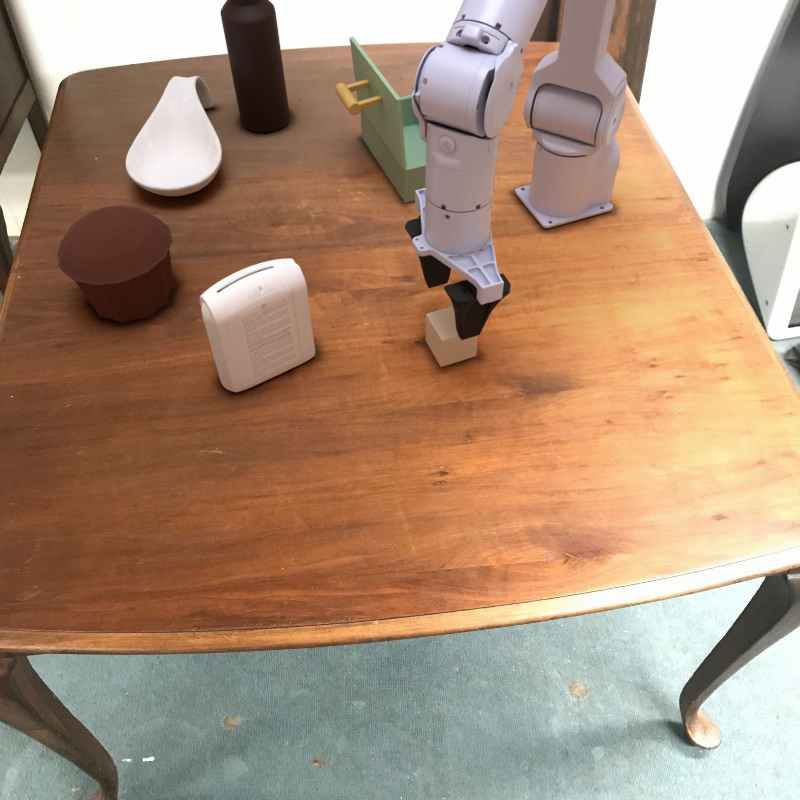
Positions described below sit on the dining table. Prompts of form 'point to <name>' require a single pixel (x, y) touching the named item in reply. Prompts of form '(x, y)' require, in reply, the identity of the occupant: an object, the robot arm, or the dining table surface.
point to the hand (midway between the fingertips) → (452, 308)
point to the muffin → (119, 261)
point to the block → (447, 338)
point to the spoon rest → (177, 142)
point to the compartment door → (374, 101)
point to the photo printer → (258, 323)
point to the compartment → (414, 151)
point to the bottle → (256, 63)
